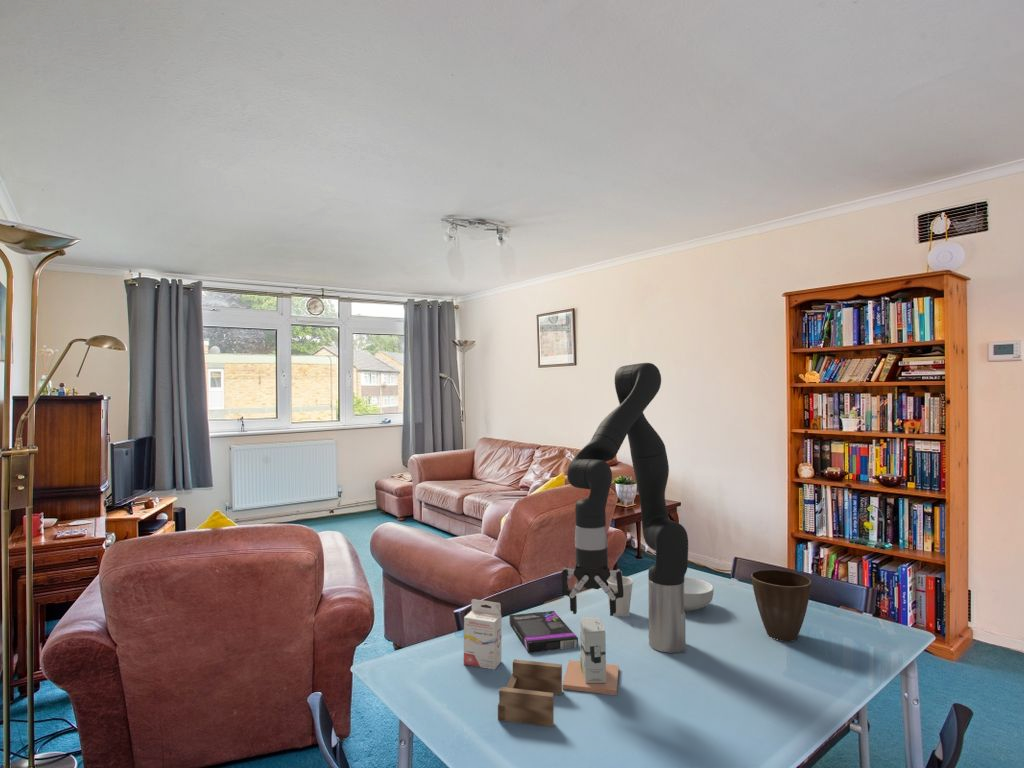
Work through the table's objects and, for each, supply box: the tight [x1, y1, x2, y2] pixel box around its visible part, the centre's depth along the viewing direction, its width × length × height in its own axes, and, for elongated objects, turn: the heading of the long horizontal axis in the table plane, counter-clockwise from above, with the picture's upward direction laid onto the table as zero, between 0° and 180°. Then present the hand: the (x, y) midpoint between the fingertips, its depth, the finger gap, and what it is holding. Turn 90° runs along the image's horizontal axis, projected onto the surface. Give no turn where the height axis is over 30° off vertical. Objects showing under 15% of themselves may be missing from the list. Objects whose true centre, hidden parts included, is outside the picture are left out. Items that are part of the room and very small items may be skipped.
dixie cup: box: [607, 575, 634, 618], centre depth 172 cm, size 8×8×10 cm
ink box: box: [579, 616, 607, 683], centre depth 133 cm, size 9×5×12 cm, turn 1°
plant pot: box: [751, 569, 812, 642], centre depth 156 cm, size 15×15×16 cm
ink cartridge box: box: [463, 598, 503, 671], centre depth 140 cm, size 9×5×15 cm, turn 71°
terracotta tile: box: [562, 659, 619, 696], centre depth 132 cm, size 12×12×1 cm
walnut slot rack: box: [497, 659, 563, 728], centre depth 121 cm, size 11×14×6 cm
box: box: [509, 610, 579, 654], centre depth 157 cm, size 14×4×20 cm
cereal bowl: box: [684, 576, 714, 612], centre depth 178 cm, size 17×17×7 cm
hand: (593, 613), depth 132 cm, fingers open, 8 cm apart
